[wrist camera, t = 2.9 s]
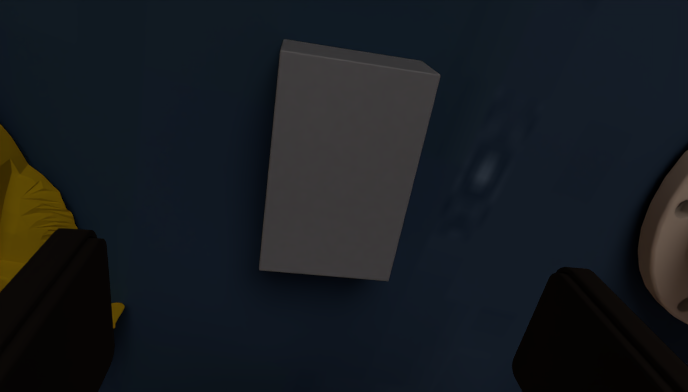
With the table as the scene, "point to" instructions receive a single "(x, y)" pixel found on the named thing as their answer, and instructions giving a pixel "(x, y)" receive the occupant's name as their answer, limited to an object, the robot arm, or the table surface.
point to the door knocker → (27, 213)
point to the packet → (342, 159)
